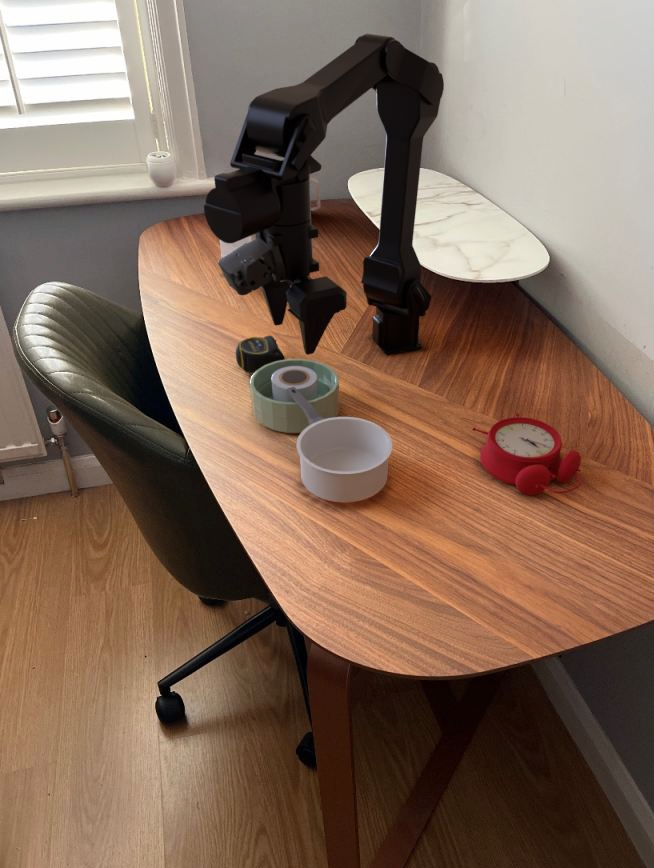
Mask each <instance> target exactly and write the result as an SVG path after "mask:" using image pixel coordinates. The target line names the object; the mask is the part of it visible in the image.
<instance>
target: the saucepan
mask: <svg viewBox="0 0 654 868" xmlns="http://www.w3.org/2000/svg"><path fill="white" fill-rule="evenodd" d="M287 393H288V394H289V395H290V396H291V397H292V398H293V400H294V401H295V402H296V403H297V404H298V405H299V407H300V408H301V409H302V410H303V411H304V413H305V414H306V417H307V419H308V422H309V425H310V426H308V427H307V428H305V429H304V430H303V431H302V432H301V433H299V435H298V436H297V439H296V451H297V454H298V455H299V460H300V462H299V463H300V477H301V483H302V484H303V486H304V488H305V489H306V490H308V492H310V494H312V495H314V496H315V497H318V498H320V499H323V500H325V501H329V502H333V503H335V502H336V503H354V502H361V501H364V500H367V499H369V498H371V497H374V496H375V495H376V494H378V493H379V492H380V491H382V489H383V488H384V487H385V486H386V484H387V480H388V473H389V472H388V471H389V458H390V456H391V454H392V450H393V441H392V438H391V436H390V434H389V433H388V432H387V430H385V429H384V428H383V427H381V426H380V425H379V424H376V423H374V422H373V421H370V420H368V419H364V418H360V417H354V416H353V417H352V416H336V417H333V418H328V419H324V418H323V417H321V416H320V415H319V413H318V412H317V411H316V410H315V409H314V408H313V406H312V405H311V404H310V403H309V402H308V401H307V400H306V399H305V398H304V397H303V396H302V394H301V393H300V392H299V391H298V390H297V389H296V388H295V387H291V388H287Z"/></svg>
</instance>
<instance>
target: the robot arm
mask: <svg viewBox="0 0 654 868" xmlns="http://www.w3.org/2000/svg"><path fill="white" fill-rule="evenodd" d="M439 69H440V68H439V67H438V65H437V64H436V63H435V62H431V61H428V60H427V59H425V58H423V57H421V56H420V55H418V54H416V53H415V52H413V51H411V50H410V49H408V48H406V47H405V46H404V45H403V44H402V43H401V42H400V41H399V40H397V39H395V38H394V37H392V36H388V35H381V34H380V35H379V34H374V33H373V34H371V33H365V34H363V35H359V36H358V37H357V39H355V42H354V44H353V45H352V46H350V47H348V48H347V49H346V50H345V51H343V52H342V53H340V54H339V55H338V56H336V57H335V58H334V59H332V60H331V61H330V62H328V63H326V65H325V66H323V67H321V68H320V69H319V70H317V71H316V72H314V73H313V74H312V75H311V76H309V77H308V78H307V79H305V80H304V81H302V82H300V83H298V84H295V85H289V86H283V87H278V88H274V89H271V90H268V91H267V92H264V93H261V94H258V95H257V96H255V97H254V98H253V99H252V101H251V102H250V103H249V105H248V107H247V113H246V116H245V118H244V122H243V125H242V127H241V131H240V133H239V137H238V139H237V142H236V145H235V148H234V151H233V154H232V156H231V160H230V167H231V168H233V169H237V170H234V171H230V172H223V173H219V174H215V175H214V180H213V181H214V188H212V189H210V190H209V192H208V193H207V195H206V197H205V201H204V202H205V204H203V212H204V216H205V217H204V218H205V221H206V223H207V225H208V227H209V229H210V230H211V232H212V233H213V235H214V236H215V237H216V238H217V239H220V240H221V241H223V242H225V243H235V242H237V241H239V240H242V239H244V238H247V237H249V236H251V235H254V234H255V235H256V236H255V240H253V241H251V242H249V243H244V244H243V245H242V246H240V247H239V248H237V249H235V250H234V251H232V252H230V253H229V254H227V255H225V256H224V257H222V256H221V258H220V259H219V260H218V262H217V264H218V266H219V268H220V270H221V272H222V274H223V276H224V278H225V280H226V282H227V284H228V286H229V287H230V288H232V290H234V291H235V292H236V293H237V295H239V296H246V295H248V294H250V293H252V292H253V291H257V290H259V289H260V290H261V294H262V296H263V298H264V301H265V304H266V306H267V310H268V312H269V315H270V317H271V320H272V323H273V325H274V326H281V325H283V323H284V320H285V315H286V310H287V311H288V312H289V313H290V314H291V315H292V316H293V317H294V318H295V319H296V320H298V325H299V330H300V336H301V340H302V347H303V350H304V353H305V355H312V354H314V353H315V352H316V349H317V347H318V345H319V344H320V342H321V340H322V337H323V335H324V334H325V331H326V330H327V328H328V325H330V323H331V321H332V319H333V318H334V317H335V314H337V313H340V312H342V311H346V309H347V305H348V304H347V303H348V302H347V301H348V300H347V298H348V295H347V294H348V293H347V291H346V290H345V289H344V288H343V287H341V286H340V285H339V284H337V282H335V281H334V280H333V279H331V278H329V277H328V276H327V275H324V276H321V277H316V278H312V277H311V276H310V274H312V273H316V272H320V262H319V261H318V260H316V259H314V258H313V239H317V238H319V228H317V227H316V226H314V225H313V224H312V211H311V208H312V205H311V182H310V178H311V177H310V175H312V174H315V173H317V172H319V171H321V170H322V164H321V163H320V162H319V161H318V160H317V159H315V158H314V157H313V155H312V154H313V153H314V152H315V151H316V149H318V148H319V146H321V144H322V143H323V141H324V140H325V139H326V137H327V131H328V125H329V124H330V122H331V121H332V120H333V119H334V118H336V117H337V116H338V115H339V114H341V113H343V111H344V110H346V109H347V108H348V107H349V106H351V105H352V104H353V103H355V102H356V101H357V100H358V99H360V98H361V97H362V96H363V95H364V94H366V93H367V92H368V91H370V90H373V91H375V93H376V95H375V96H376V113H377V115H378V117H379V120H380V123H381V124H382V127H383V130H384V132H385V135H386V140H385V151H384V152H385V153H384V166H383V179H382V180H383V181H382V191H381V193H382V194H381V205H380V206H381V207H380V218H379V219H380V220H379V232H378V243H377V245H376V246H375V248H374V250H373V251H372V252H371V254H370V255H366V256H365V257H364V258H363V261H362V278H361V281H360V284H362V287H363V288H362V289H363V293H364V295H365V298H366V302H367V305H368V306H371V307H372V306H373V307H375V315H373V316H372V334H371V339H372V341H373V342H374V343H375V344H376V346H377V347H378V348H379V349H380V351H382V353H384V355H391V354H397V353H398V354H399V353H403V352H404V353H405V352H410V351H415V350H421V349H423V343H421V341H420V340H419V331H420V318H421V317H425V316H426V312H427V311H428V310H429V307H430V305H431V300H432V294H431V293H430V292H429V290H427V288H426V287H425V286H424V285H423V283H422V282H421V281H422V280H421V279H422V276H421V275H422V265H421V262H420V260H419V257H418V255H417V253H416V251H415V248H414V245H413V242H414V231H415V222H416V213H417V202H418V195H419V194H418V193H419V183H420V175H421V174H420V173H421V165H422V164H421V163H422V153H423V145H424V139H425V138H424V137H425V135H426V134H427V132H428V131H429V129H430V128H431V126H432V125H433V123H434V122H435V121H436V119H437V117H438V115H439V111H440V104H441V100H442V97H443V94H444V89H445V88H444V87H445V83H444V77H443V76H444V75H443V74H442V72H440V70H439ZM257 152H259V153H262V154H265V155H271V156H274V157H279V158H282V159H276V158H272V157H268V156H263V155H259V154H256V153H257ZM220 240H219V241H220ZM287 305H288V306H287ZM287 307H289V308H287Z"/></svg>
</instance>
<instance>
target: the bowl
mask: <svg viewBox="0 0 654 868" xmlns="http://www.w3.org/2000/svg"><path fill="white" fill-rule="evenodd" d="M289 366H301V367H306V368H309V369H311V370H313V371H314V372H315V373H316V375H317V387H318V398H316V399H314V400H309V401H308V402H309V403H310V404H311V405H312V406H313V408H314V409H315V410H316V411H317V412H318V413H319V415H320V416H321V417H323V418H324V419H328V418H333V417H338V414H339V412H340V377H339V375H338V373H337V372H336V371H335V369H334V368H332V367H330V366H329V365H327V364H326V363H323V362H320V361H317V360H313V359H306V358H287V359H286V358H285V360H280V361H275V362H272V363H269V364H267V365H264V366H263V367H261V368H260V369H258V370H256V372H255V373H252V375H251V377H250V381H249V390H250V399H251V409H252V414H253V417H254V418H255V420H256V422H258V423H259V424H260V425H262V426H263V427H265V428H268V429H270V430H272V431H276V432H279V433H283V434H301V432H302V431H303V430H304V429H305V428H307V427H308V426H310V425H309V422H308V419H307V417H306V414H305V413H304V411H303V410H302V409H301V408H300V407H299V405H298V404H297V403H296V402H282V401H276V400H273V393H272V380H271V377H272V375H273V373H274V372H276V371H277V370H279V369H281V368H284V367H289Z"/></svg>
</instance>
